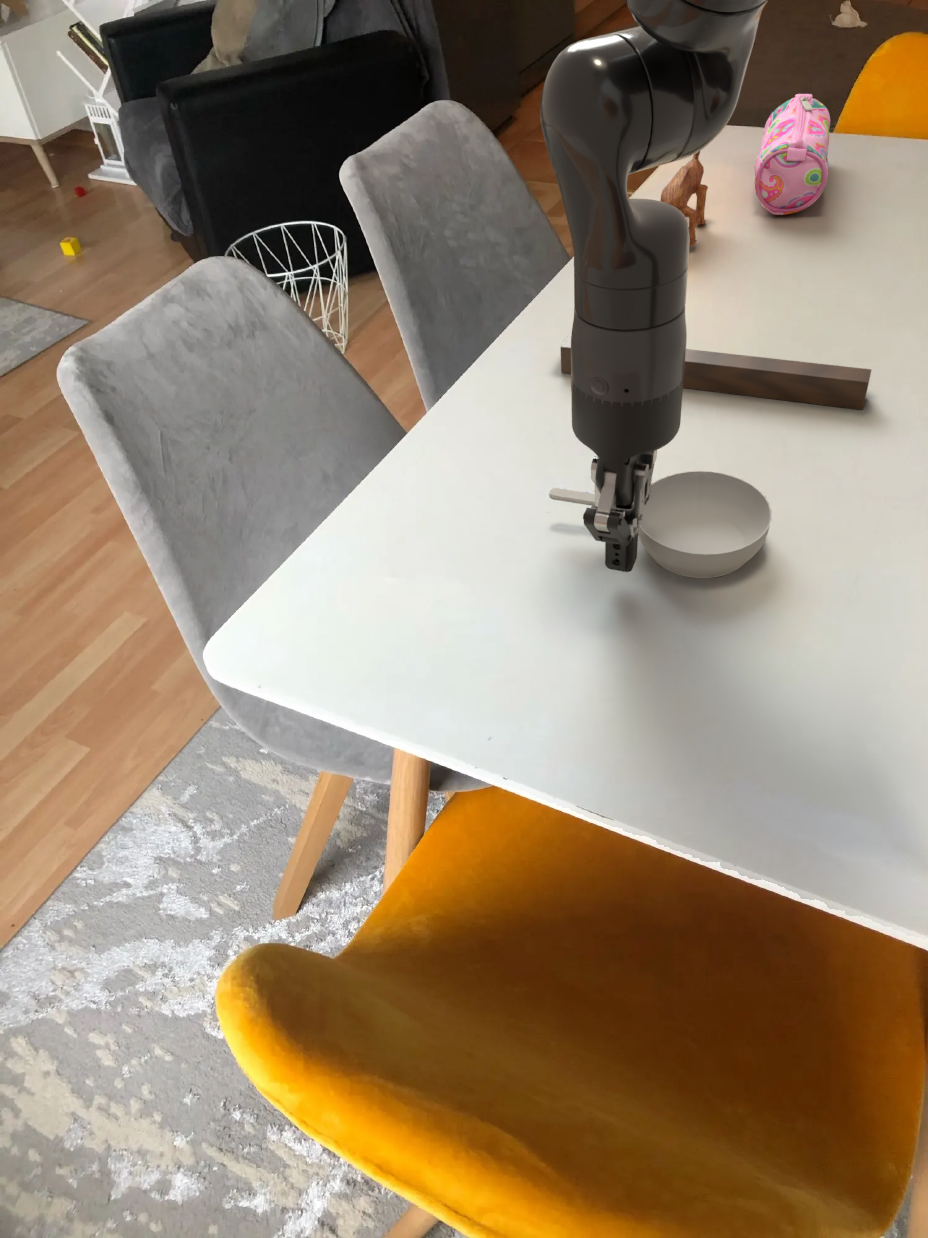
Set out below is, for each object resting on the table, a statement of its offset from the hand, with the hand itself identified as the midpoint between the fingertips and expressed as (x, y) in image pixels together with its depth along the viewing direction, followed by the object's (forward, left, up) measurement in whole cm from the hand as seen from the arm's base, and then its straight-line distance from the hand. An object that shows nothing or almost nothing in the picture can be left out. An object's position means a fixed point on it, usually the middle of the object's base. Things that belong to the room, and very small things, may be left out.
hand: (621, 564), depth 76 cm
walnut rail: (0, -31, -2) cm, 31 cm away
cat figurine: (+11, -62, -2) cm, 63 cm away
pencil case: (0, -82, -2) cm, 82 cm away
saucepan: (-1, -6, -2) cm, 6 cm away
